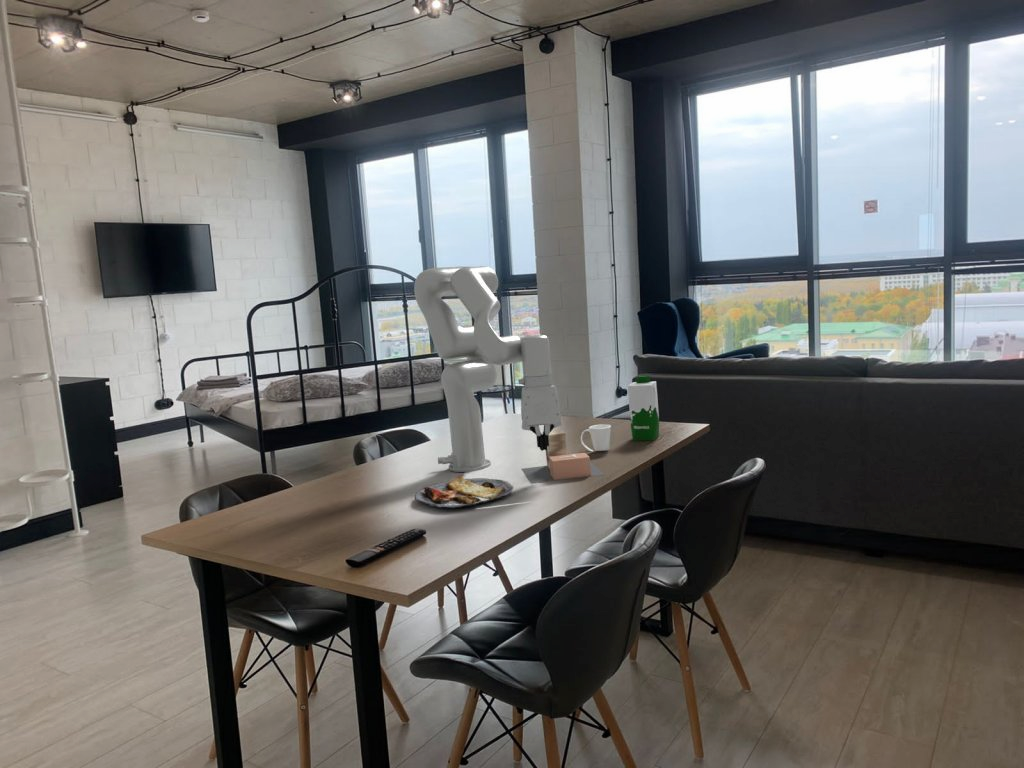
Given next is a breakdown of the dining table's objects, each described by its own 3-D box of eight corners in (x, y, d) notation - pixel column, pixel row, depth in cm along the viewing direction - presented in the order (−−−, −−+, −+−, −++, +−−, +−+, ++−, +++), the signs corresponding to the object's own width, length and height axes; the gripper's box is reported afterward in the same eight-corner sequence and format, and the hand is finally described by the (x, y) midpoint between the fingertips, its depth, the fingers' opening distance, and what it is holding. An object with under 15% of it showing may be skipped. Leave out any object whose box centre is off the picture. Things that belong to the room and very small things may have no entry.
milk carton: (662, 435, 250) (658, 374, 248) (656, 441, 242) (651, 378, 240) (635, 435, 254) (631, 375, 251) (629, 441, 246) (624, 379, 243)
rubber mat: (531, 485, 202) (530, 483, 202) (521, 470, 220) (521, 468, 220) (604, 476, 205) (604, 474, 205) (589, 461, 222) (589, 460, 222)
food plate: (399, 500, 199) (398, 487, 198) (471, 481, 213) (470, 468, 213) (456, 519, 179) (454, 505, 179) (530, 497, 194) (529, 483, 194)
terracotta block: (552, 460, 203) (589, 456, 205) (548, 456, 209) (584, 452, 210) (554, 479, 204) (591, 475, 205) (550, 474, 210) (586, 470, 211)
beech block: (550, 470, 215) (547, 435, 214) (546, 465, 221) (543, 431, 220) (568, 468, 216) (565, 433, 214) (564, 463, 221) (561, 429, 220)
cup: (608, 455, 228) (606, 428, 227) (577, 454, 233) (575, 428, 232) (616, 450, 235) (614, 424, 234) (586, 449, 239) (584, 424, 238)
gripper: (512, 386, 199) (517, 455, 201) (568, 380, 201) (573, 449, 203) (508, 383, 206) (514, 449, 209) (562, 377, 208) (567, 443, 211)
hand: (543, 449), depth 206 cm, fingers closed
